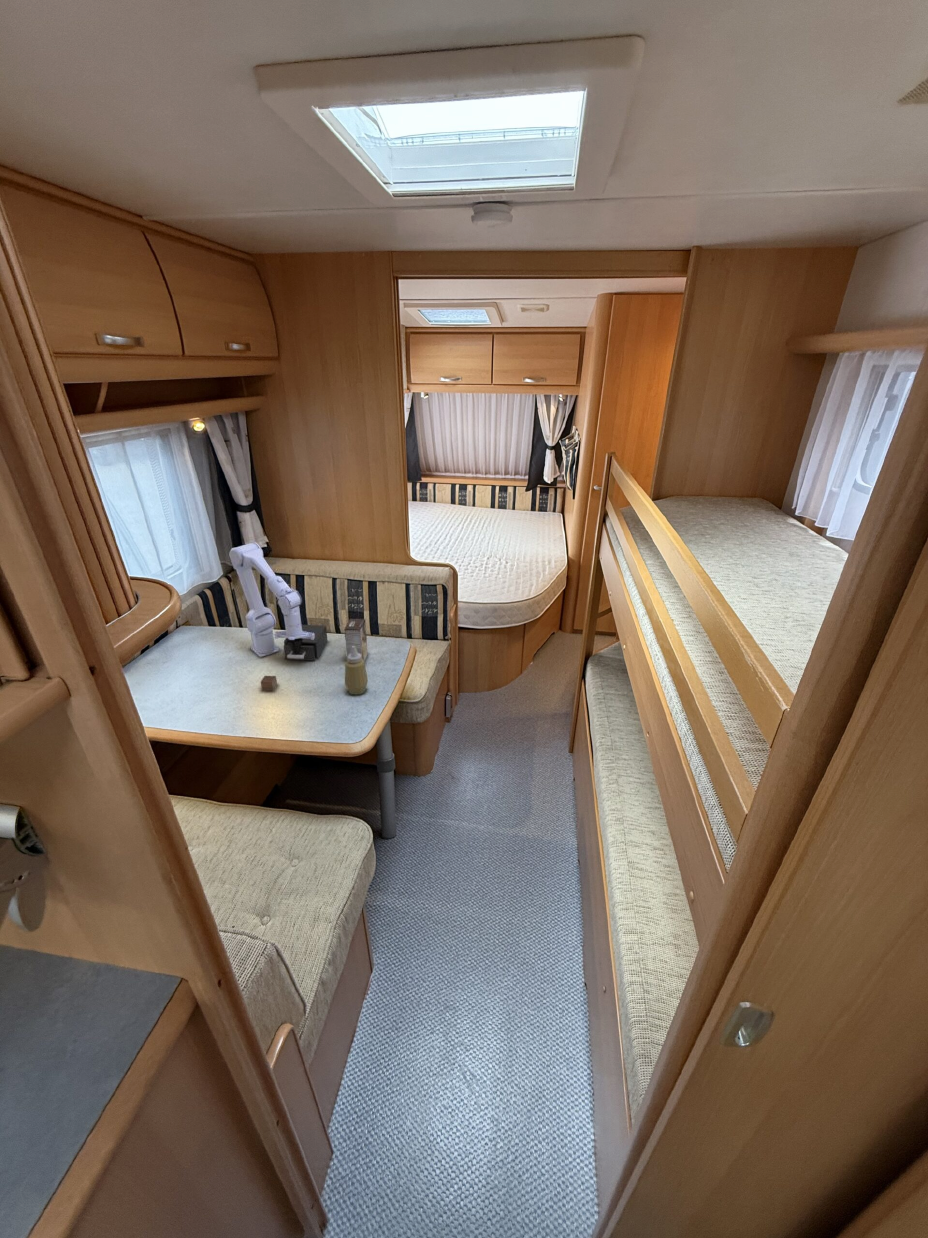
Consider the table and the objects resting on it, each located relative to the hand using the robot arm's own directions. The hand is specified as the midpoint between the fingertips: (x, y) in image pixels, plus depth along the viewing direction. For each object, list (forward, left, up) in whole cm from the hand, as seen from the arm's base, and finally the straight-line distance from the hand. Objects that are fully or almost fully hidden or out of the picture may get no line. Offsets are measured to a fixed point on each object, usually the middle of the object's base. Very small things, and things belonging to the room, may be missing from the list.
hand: (297, 654), depth 189 cm
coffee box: (+12, +19, -5) cm, 23 cm away
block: (+8, -15, -4) cm, 18 cm away
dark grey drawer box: (-8, +8, -4) cm, 12 cm away
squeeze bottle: (+30, +7, -5) cm, 31 cm away
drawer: (-5, +5, -4) cm, 7 cm away
